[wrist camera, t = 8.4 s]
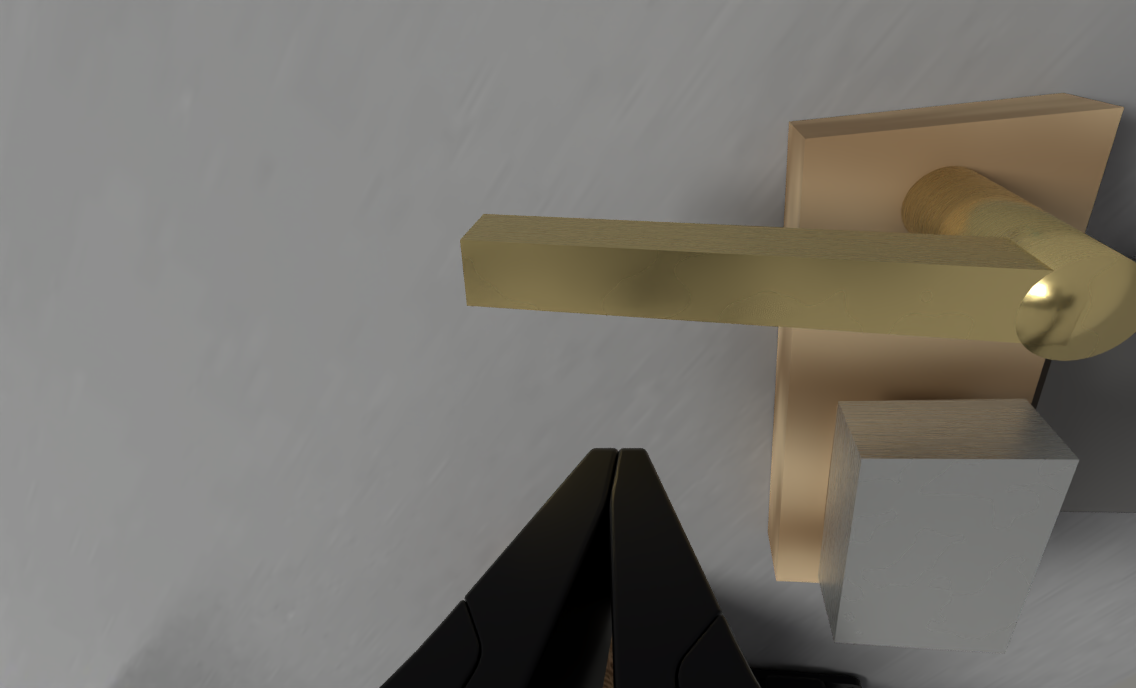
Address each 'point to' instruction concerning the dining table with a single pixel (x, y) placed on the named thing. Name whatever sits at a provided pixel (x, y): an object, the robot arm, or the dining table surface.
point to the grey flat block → (938, 520)
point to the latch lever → (828, 271)
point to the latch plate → (873, 203)
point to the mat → (1095, 425)
